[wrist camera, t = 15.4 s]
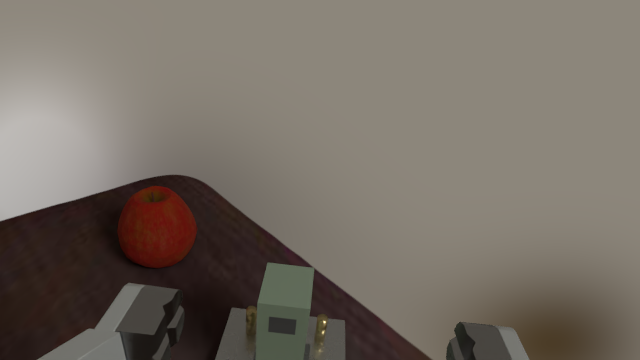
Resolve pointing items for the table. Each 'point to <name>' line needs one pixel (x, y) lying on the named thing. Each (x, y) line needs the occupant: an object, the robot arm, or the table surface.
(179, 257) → the apple
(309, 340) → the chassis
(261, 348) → the block
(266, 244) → the table surface
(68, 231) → the table surface
